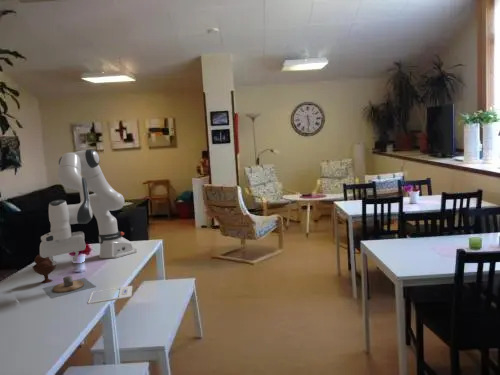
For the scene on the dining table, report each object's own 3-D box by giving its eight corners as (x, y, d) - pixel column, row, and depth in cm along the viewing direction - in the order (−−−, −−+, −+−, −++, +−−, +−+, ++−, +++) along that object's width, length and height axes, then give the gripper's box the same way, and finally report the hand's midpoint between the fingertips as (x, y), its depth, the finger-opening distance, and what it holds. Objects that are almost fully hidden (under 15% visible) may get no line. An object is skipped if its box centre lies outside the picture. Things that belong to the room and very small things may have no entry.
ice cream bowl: (49, 285, 217) (45, 256, 215) (30, 286, 219) (26, 257, 217) (63, 278, 227) (59, 250, 225) (44, 279, 229) (40, 251, 227)
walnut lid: (79, 280, 220) (78, 271, 219) (87, 286, 209) (86, 276, 208) (50, 288, 212) (48, 278, 211) (57, 294, 200) (55, 284, 200)
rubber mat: (84, 278, 224) (84, 277, 224) (96, 287, 208) (96, 286, 208) (42, 289, 213) (42, 288, 212) (51, 299, 196) (51, 298, 196)
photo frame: (131, 295, 191) (87, 302, 187) (131, 298, 191) (88, 304, 187) (132, 285, 205) (92, 291, 201) (132, 287, 205) (92, 293, 201)
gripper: (82, 229, 216) (85, 257, 217) (37, 237, 204) (40, 266, 205) (85, 231, 210) (88, 259, 212) (39, 239, 199) (43, 268, 200)
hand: (64, 262), depth 208 cm, fingers open, 8 cm apart
